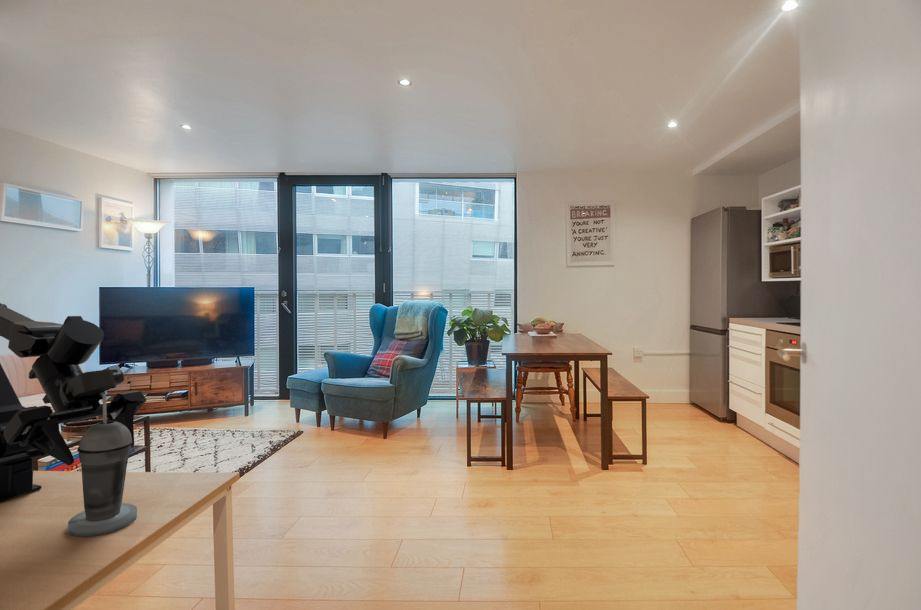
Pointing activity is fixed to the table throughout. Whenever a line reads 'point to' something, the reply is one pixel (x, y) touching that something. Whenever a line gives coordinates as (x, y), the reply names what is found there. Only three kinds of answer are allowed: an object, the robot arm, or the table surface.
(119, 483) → the beverage cup
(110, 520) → the slate dish
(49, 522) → the table surface
